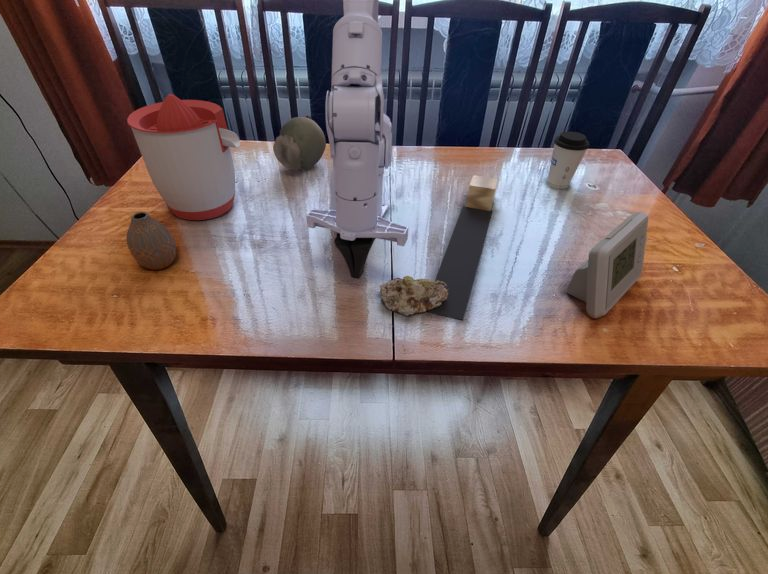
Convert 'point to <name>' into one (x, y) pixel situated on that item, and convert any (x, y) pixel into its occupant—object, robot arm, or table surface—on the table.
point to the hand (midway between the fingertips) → (357, 274)
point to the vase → (150, 242)
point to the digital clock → (611, 266)
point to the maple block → (481, 192)
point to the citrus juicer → (188, 155)
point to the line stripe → (462, 261)
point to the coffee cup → (566, 158)
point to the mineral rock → (413, 294)
